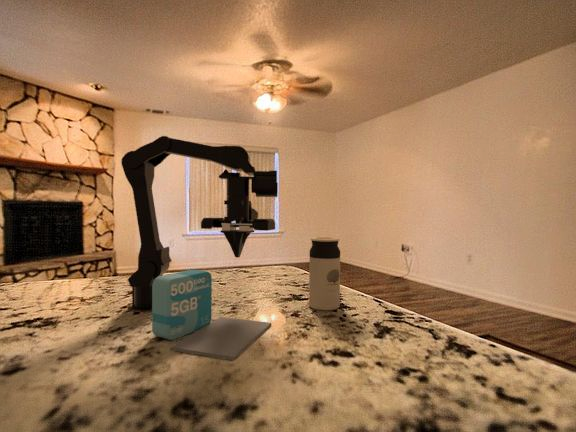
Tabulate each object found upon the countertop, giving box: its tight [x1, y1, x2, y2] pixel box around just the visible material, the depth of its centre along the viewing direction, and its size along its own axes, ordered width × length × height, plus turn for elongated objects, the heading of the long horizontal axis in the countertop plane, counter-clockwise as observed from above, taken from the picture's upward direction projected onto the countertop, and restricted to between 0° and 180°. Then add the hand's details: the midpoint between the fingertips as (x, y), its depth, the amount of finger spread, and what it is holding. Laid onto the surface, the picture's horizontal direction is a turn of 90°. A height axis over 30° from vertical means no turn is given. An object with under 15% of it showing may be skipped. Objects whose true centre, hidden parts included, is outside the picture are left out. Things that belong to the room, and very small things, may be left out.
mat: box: [170, 316, 272, 361], centre depth 67 cm, size 12×18×1 cm
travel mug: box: [308, 236, 341, 312], centre depth 89 cm, size 8×8×18 cm
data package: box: [151, 269, 213, 341], centre depth 70 cm, size 12×4×12 cm, turn 149°
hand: (237, 257), depth 87 cm, fingers closed
